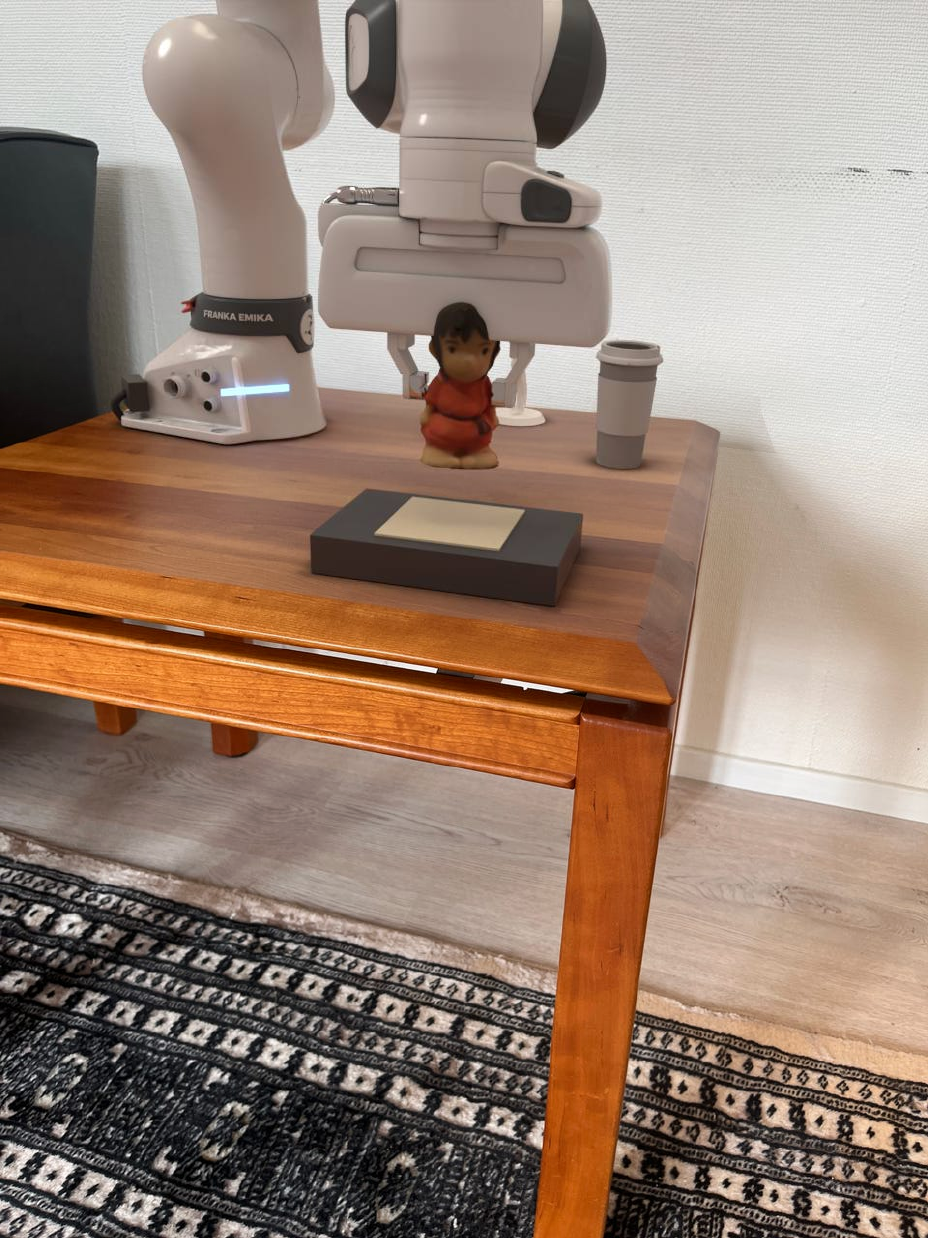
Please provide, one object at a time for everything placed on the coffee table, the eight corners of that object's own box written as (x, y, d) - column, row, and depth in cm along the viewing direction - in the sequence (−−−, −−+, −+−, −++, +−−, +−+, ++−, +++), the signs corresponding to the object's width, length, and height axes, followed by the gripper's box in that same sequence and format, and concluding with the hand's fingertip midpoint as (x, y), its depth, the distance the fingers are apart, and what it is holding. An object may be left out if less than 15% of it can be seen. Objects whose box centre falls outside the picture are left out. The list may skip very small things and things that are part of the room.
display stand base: (310, 573, 72) (309, 531, 70) (366, 522, 82) (366, 485, 81) (554, 606, 68) (558, 563, 67) (580, 549, 79) (583, 510, 77)
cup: (649, 475, 99) (664, 352, 94) (582, 469, 100) (594, 347, 95) (651, 457, 105) (665, 341, 100) (589, 451, 106) (599, 336, 101)
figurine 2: (491, 410, 122) (496, 309, 117) (548, 414, 121) (556, 313, 116) (481, 423, 116) (486, 317, 111) (541, 428, 115) (549, 321, 110)
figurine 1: (401, 460, 73) (398, 289, 68) (460, 448, 76) (461, 284, 71) (454, 479, 68) (455, 297, 63) (515, 465, 71) (520, 292, 67)
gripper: (299, 184, 64) (306, 398, 70) (615, 197, 59) (594, 424, 65) (334, 183, 69) (338, 381, 75) (625, 195, 65) (606, 405, 71)
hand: (459, 402), depth 70 cm, fingers closed on figurine 1, 5 cm apart
